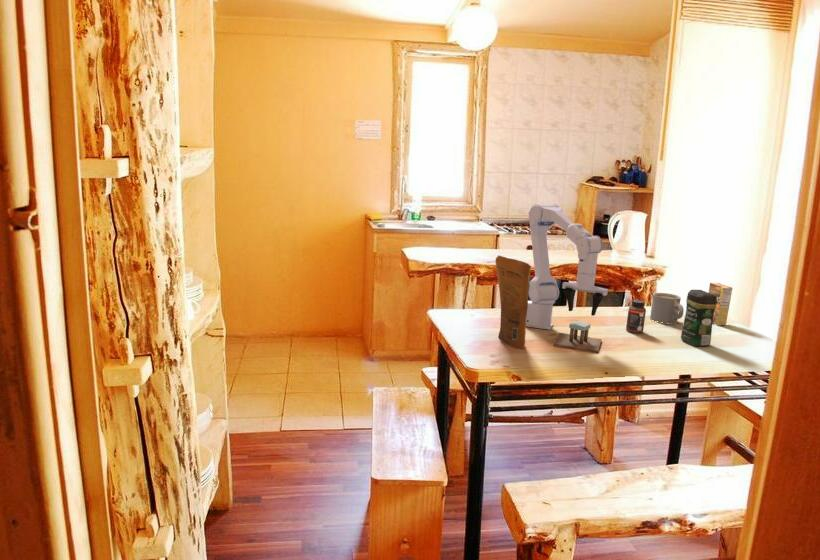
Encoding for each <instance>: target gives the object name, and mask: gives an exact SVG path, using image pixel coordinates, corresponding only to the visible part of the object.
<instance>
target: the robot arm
mask: <svg viewBox="0 0 820 560" xmlns="http://www.w3.org/2000/svg"><path fill="white" fill-rule="evenodd" d="M528 219H529V220H528V221H529V227H530V238H531V239H530V240H531V247H532V249H531V250H532V257H533V268H534V275H535V276H534V277H533V278H532V279H531V280H529V294H528V298H529V300H528V309H527V316H526V327H529V328H535V329H536V328H537V329H541V330H548V331H551V329H552V328H553V326H554V323H552V317H553V308H554V307H553V306H554V304H555V303H556V300H558V299H559V297H560V289H559V286H558V283H557V279H556V278H555V277H553V275H551V268H550V260H549V259H550V258H549V250H548V249H549V247H548V241H547V239H548V238H547V231H548V230H549V229H551V228H552V227H553V226H554V225H555V224H556V225H557V226H558V227H559V228H561V229H562V230H564V231H565V235H566V237H567V238H568V239H569V240H570V241H571V242H572V243H573V244H574V245H575V246H576V251H577V257H578V258H577V259H578V265H577V275H576V281H575V282H567V281H564V282H562V287H561V289H565V290H563V294H564V296H565V299H566V302H567V307H568V311H569V312H572V311H574V303H575V295H576V291H577V292H578V291H579V292H584V293H585V292H586V293H591V294H593V295H592V308H591V314H590V315H591V316H595V315H596V312H597V310H598V307H599V305H600V304H601V301H603V299H604V298H605V296H607V295H608V291H609V289H608V288H605V287H601V286H595V283H596V282H595V281H596V280H595V279H596V272H597V264H598V256H599V254H600V253H601V252H602V251H603V247H604V243H603V239H602V238H601V237H600V236H599V235H592V233H591V232H590V231H587V229H585V228H584V227H583V224H581V223H577V222H575V223H573V222H572V221H571V220H570V219H569V218H568V217H567V215H566V214H565V213H564V212H563V208H562V207H560V206H559V205H558V204H556V203H555V204H533V205H532V206H531V207H530V209H529V211H528Z"/></svg>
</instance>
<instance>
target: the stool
mask: <svg viewBox="0 0 820 560" xmlns="http://www.w3.org/2000/svg"><path fill="white" fill-rule="evenodd" d="M591 325H592V324H591V323H589V322H582V321H578V320H575V321H573V322H570V323H569V326H568V327H569V329H570V330H569V334H570V337H569V341H570V342H573V339H577V336H578V333H579V331H580V334H579V336H580V342H579V344H583V341H584V342H587V339H588V337H589V332H590V331H589V330H590V329H591ZM573 335H574V337H573Z"/></svg>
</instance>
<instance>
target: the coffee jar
mask: <svg viewBox="0 0 820 560" xmlns="http://www.w3.org/2000/svg"><path fill="white" fill-rule="evenodd" d="M708 292H709V291H705V290H703V289H690V290H689V291H688V292H687V295H686V300H685V301H686V306H685V307H686V309H685V315H684V321H683V325H682V329H681V334H680V339H681V340H682V341H683V342H685V343H687V344H688V345H691V346H695V347H701V348H702V347H703V348H704V347H708V346H710V345H711V341H712V334H713V333H712V332H713V325H714V324H713V315H714V311H715V308H716V305H717V297H716V296H715V295H713V294H710V293H708Z"/></svg>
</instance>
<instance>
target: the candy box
mask: <svg viewBox="0 0 820 560" xmlns="http://www.w3.org/2000/svg"><path fill="white" fill-rule="evenodd" d="M707 292H708V293H710V294H713V295H715V296H716V297H717V305H716V308H715V311H714V315H713V323H714V324H713V325H715V324H716V325H715V326H717V325H726V326H727V321H728V316H729V310H730V304H731V298H732V294H733V287H732V286H729V285H725V284H722V283H719V282H709V288H708V291H707Z"/></svg>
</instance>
